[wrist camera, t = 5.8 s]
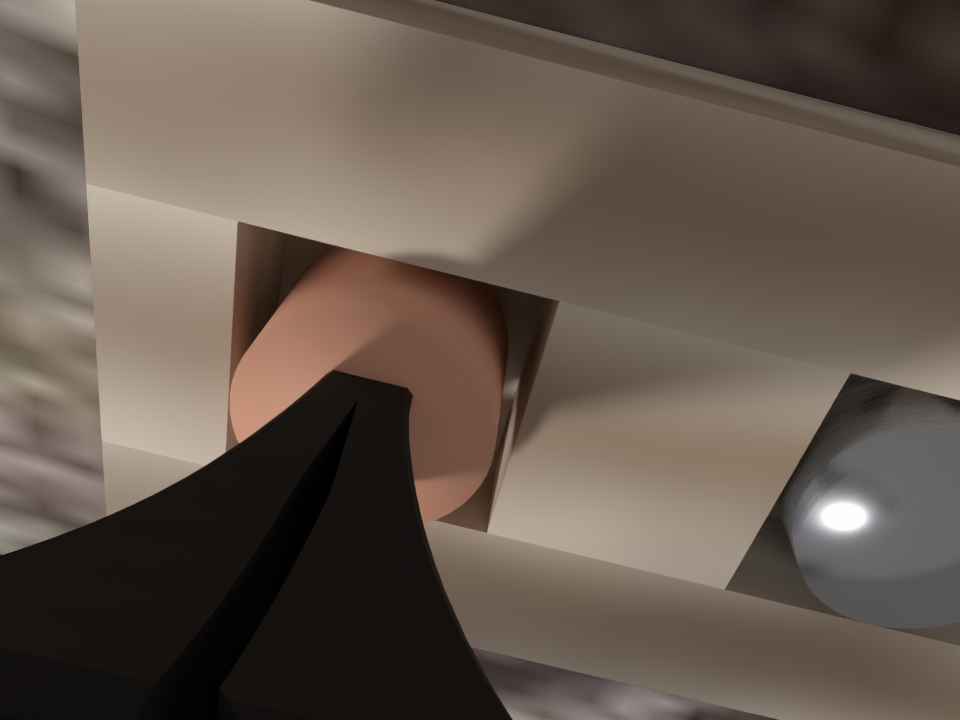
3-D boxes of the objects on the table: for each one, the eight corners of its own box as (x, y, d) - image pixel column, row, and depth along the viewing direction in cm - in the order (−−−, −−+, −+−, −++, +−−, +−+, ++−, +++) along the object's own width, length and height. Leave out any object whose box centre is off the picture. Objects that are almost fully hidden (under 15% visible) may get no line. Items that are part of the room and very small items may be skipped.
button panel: (937, 655, 19) (994, 769, 17) (172, 473, 19) (108, 562, 16) (1309, 225, 13) (1490, 303, 10) (173, -67, 12) (71, -62, 10)
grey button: (917, 537, 17) (979, 650, 14) (728, 492, 17) (756, 597, 14) (1035, 378, 15) (1135, 479, 12) (817, 324, 14) (870, 413, 12)
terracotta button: (481, 450, 16) (464, 553, 13) (279, 402, 16) (224, 496, 13) (533, 267, 14) (525, 349, 11) (298, 208, 14) (236, 278, 11)
